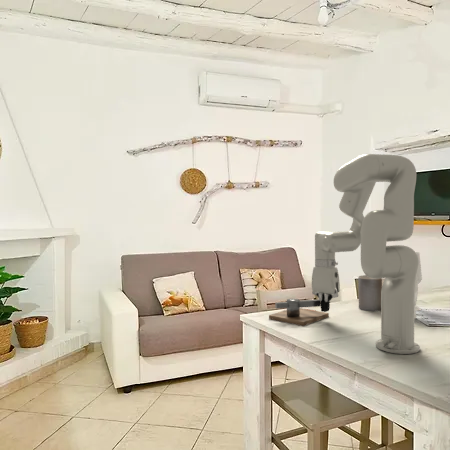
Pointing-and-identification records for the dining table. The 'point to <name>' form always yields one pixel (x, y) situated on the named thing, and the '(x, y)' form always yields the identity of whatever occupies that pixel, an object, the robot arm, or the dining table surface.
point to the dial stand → (300, 317)
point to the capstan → (296, 306)
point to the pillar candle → (369, 293)
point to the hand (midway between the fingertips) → (325, 311)
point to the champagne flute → (418, 275)
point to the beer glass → (415, 297)
